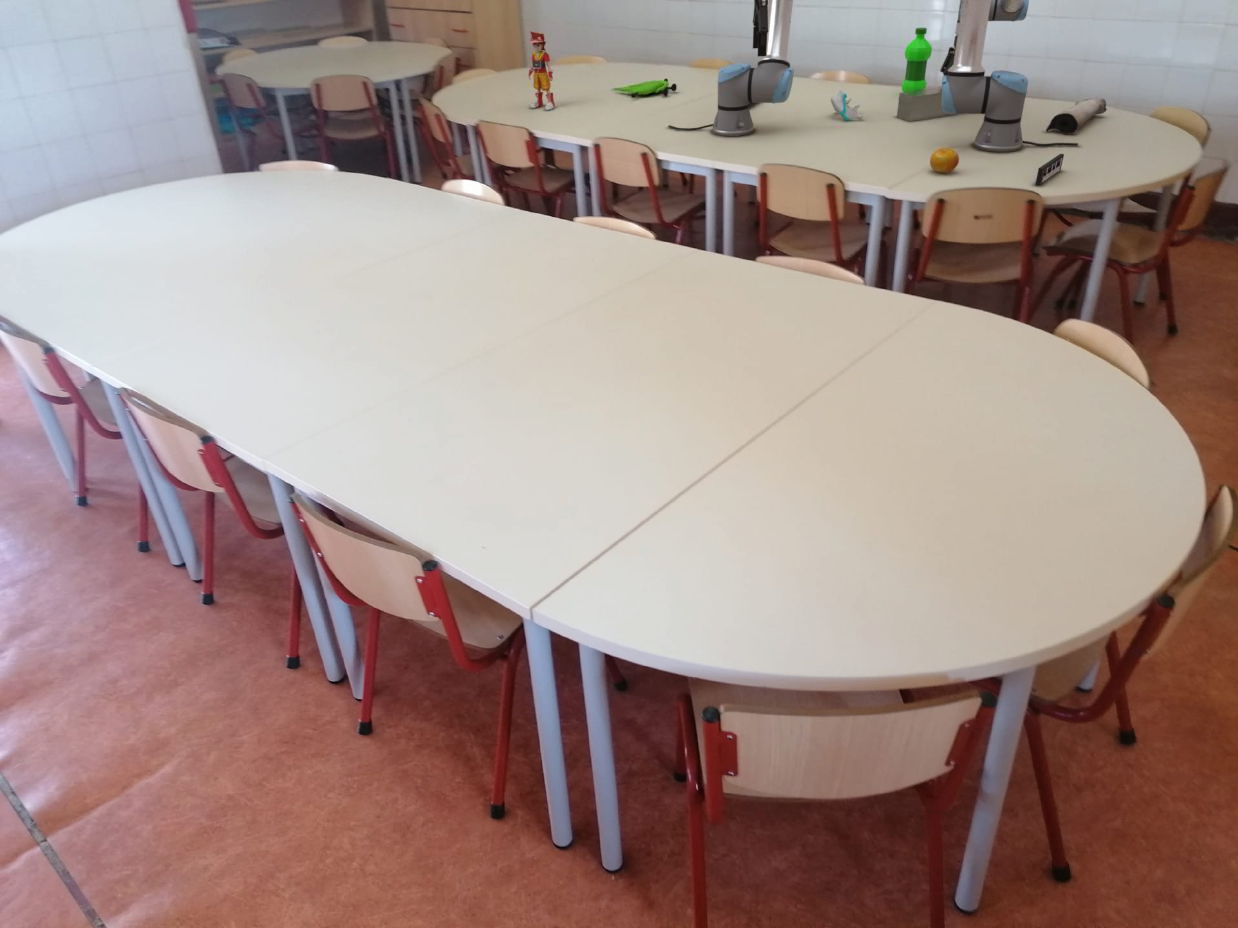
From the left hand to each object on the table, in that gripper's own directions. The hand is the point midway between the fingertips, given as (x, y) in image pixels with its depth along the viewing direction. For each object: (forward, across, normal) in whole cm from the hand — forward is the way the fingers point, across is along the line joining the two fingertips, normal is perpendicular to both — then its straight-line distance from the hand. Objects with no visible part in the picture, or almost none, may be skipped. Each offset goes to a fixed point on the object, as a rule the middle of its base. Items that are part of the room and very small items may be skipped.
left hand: (759, 52), depth 293 cm
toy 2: (+33, +102, +39) cm, 114 cm away
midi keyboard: (+33, -42, -85) cm, 100 cm away
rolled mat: (+33, +16, -116) cm, 122 cm away
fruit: (+33, -30, -56) cm, 71 cm away
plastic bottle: (+33, +70, -72) cm, 105 cm away
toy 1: (+33, +83, +81) cm, 120 cm away
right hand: (+27, +43, -81) cm, 95 cm away
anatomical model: (+33, +42, -39) cm, 66 cm away
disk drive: (+33, +68, -2) cm, 76 cm away
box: (+33, +40, -72) cm, 88 cm away
